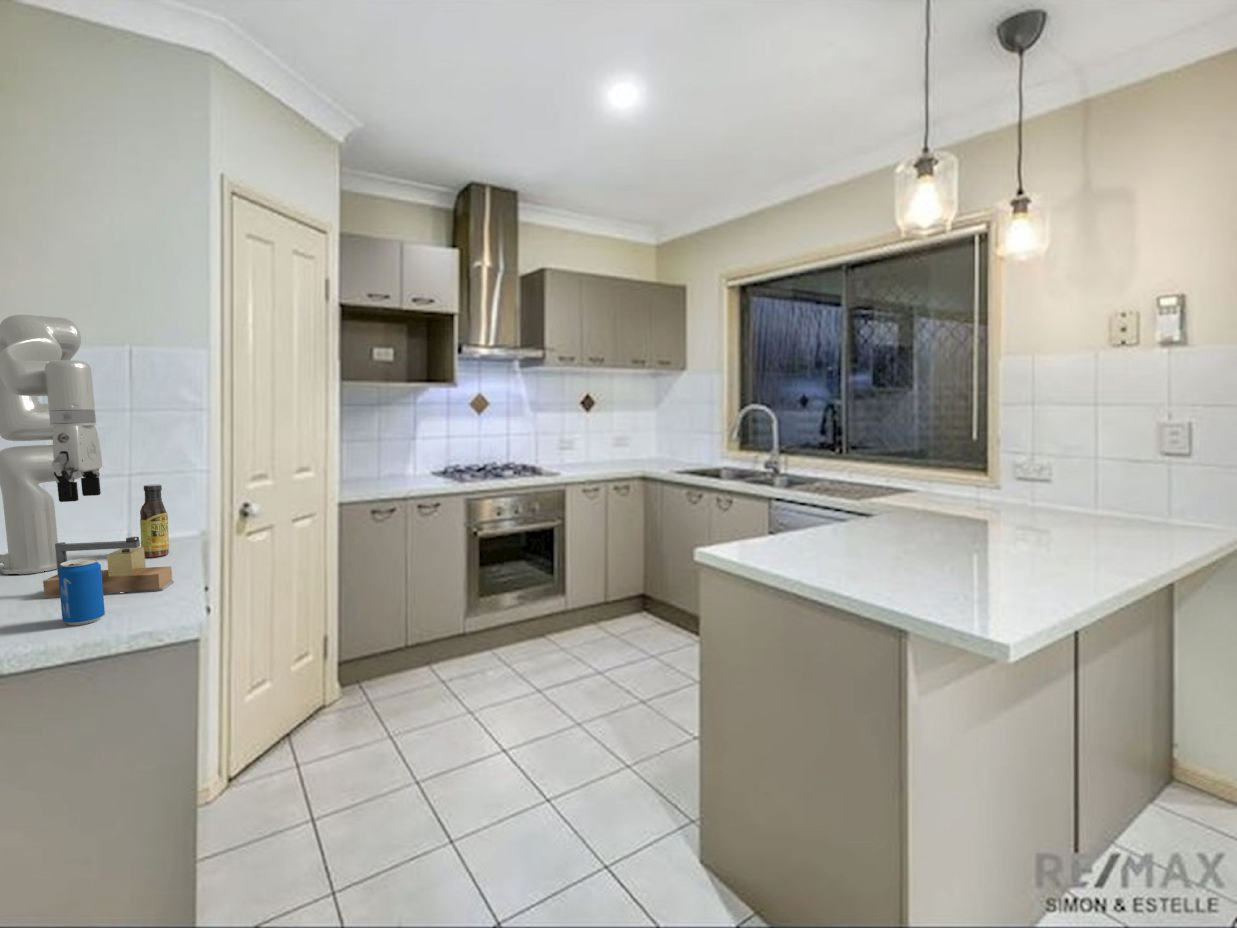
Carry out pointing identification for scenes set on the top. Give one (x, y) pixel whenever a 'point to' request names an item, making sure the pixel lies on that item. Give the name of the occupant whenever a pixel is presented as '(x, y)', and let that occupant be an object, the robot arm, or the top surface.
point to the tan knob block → (126, 561)
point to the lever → (92, 547)
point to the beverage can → (81, 591)
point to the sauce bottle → (154, 523)
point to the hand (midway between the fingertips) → (80, 498)
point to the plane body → (122, 582)
